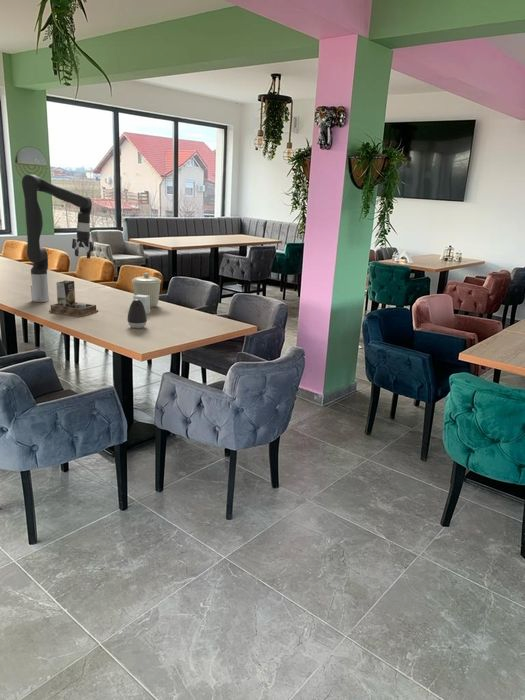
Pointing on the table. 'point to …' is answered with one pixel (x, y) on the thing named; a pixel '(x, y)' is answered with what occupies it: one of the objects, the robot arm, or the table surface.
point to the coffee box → (65, 293)
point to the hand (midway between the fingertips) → (82, 257)
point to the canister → (147, 288)
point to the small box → (144, 301)
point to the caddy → (74, 309)
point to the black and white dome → (137, 315)
